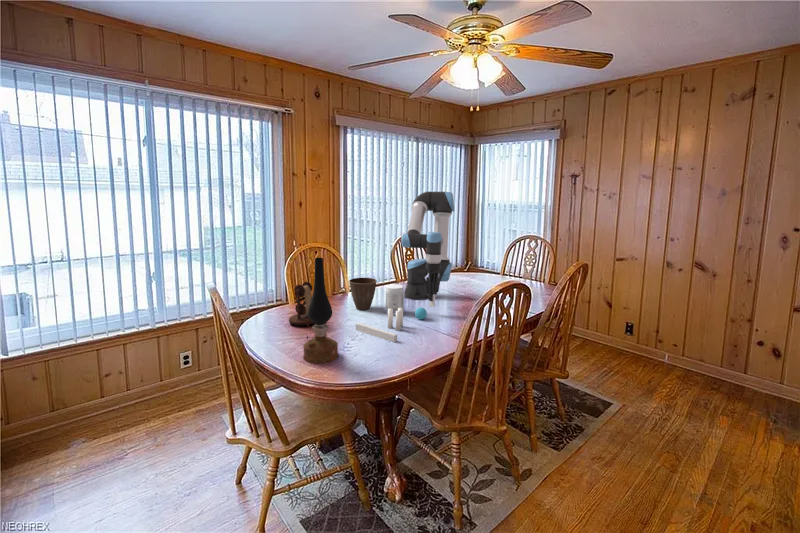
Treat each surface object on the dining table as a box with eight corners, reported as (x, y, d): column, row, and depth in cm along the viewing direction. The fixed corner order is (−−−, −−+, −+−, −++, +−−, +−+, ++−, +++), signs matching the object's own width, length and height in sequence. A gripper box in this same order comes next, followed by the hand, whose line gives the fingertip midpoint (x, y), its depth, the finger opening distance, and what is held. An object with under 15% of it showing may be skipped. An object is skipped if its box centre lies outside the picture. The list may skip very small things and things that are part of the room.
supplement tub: (396, 309, 230) (396, 283, 227) (407, 313, 223) (407, 286, 220) (382, 312, 224) (382, 285, 221) (393, 316, 217) (393, 289, 214)
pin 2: (397, 328, 198) (398, 310, 196) (401, 329, 196) (402, 311, 195) (394, 329, 196) (394, 311, 195) (398, 331, 195) (398, 312, 193)
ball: (419, 316, 217) (420, 305, 216) (429, 319, 214) (429, 307, 212) (412, 319, 213) (412, 307, 212) (421, 321, 209) (422, 310, 208)
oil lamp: (339, 358, 171) (352, 261, 171) (335, 367, 156) (349, 261, 156) (305, 354, 171) (318, 257, 171) (298, 362, 155) (312, 256, 155)
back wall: (359, 328, 197) (359, 322, 197) (397, 341, 182) (397, 334, 181) (355, 329, 196) (355, 323, 195) (394, 342, 180) (394, 335, 180)
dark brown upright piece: (309, 329, 196) (308, 287, 192) (282, 325, 200) (281, 285, 197) (325, 320, 209) (324, 281, 206) (299, 317, 214) (298, 278, 210)
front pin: (400, 325, 203) (400, 307, 201) (403, 326, 201) (404, 308, 200) (396, 326, 201) (397, 308, 200) (400, 327, 200) (400, 309, 198)
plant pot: (375, 312, 223) (375, 283, 220) (347, 312, 223) (347, 283, 220) (377, 305, 238) (377, 277, 235) (351, 304, 238) (351, 277, 235)
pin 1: (390, 326, 201) (390, 308, 200) (393, 327, 200) (394, 309, 198) (386, 327, 199) (386, 309, 198) (390, 328, 198) (390, 310, 196)
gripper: (434, 260, 222) (433, 303, 226) (419, 262, 213) (418, 307, 217) (446, 261, 218) (445, 305, 222) (431, 264, 208) (430, 310, 212)
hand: (432, 306), depth 219 cm, fingers closed
